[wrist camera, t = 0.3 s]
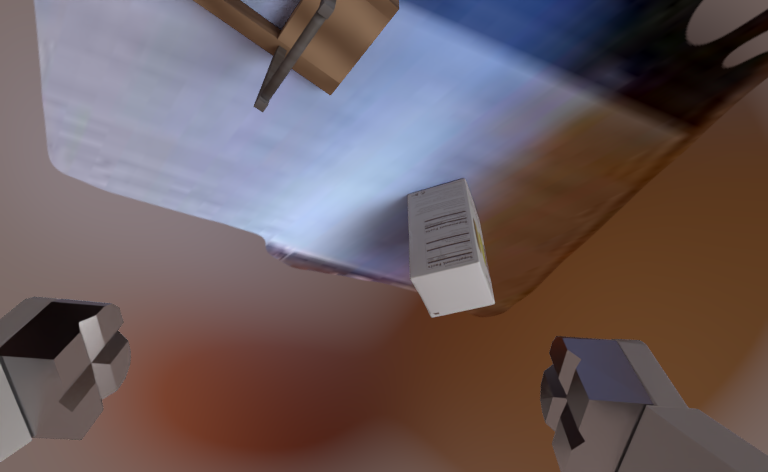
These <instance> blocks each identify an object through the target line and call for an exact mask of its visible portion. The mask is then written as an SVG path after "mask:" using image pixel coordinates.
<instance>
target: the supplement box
mask: <svg viewBox="0 0 768 472" xmlns="http://www.w3.org/2000/svg"><path fill="white" fill-rule="evenodd" d="M407 199H408V228H409V263H410V279H411V281H412V282H413V284H414V286H415V288H416V289H417V291H418V293H419V294H420V296H421V298H422V300H423V301H424V304H425V306H426V307H427V309H428V311H429V314H430V316H431V317H437V316H442V315H447V314H451V313H456V312H460V311H465V310H470V309H475V308H479V307H484V306H488V305H492V304H495V301H494V295H493V290H492V285H491V279H490V274H489V269H488V263H487V258H486V253H485V247H484V242H483V237H482V231H481V226H480V221H479V218H478V215H477V212H476V209H475V205H474V202H473V199H472V197H471V194H470V191H469V188H468V185H467V182H466V180H465V179H460V180H456V181H453V182H449V183H446V184H442V185H439V186H436V187H432V188H429V189H425V190H422V191H418V192H415V193H412V194H408V195H407Z"/></svg>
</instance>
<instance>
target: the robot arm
mask: <svg viewBox="0 0 768 472" xmlns="http://www.w3.org/2000/svg"><path fill="white" fill-rule="evenodd" d="M122 324H123V318H122V315H121V312H120V308H119V307H117V306H116V305H114V304H111V303H100V302H90V301H78V300H69V299H55V298H43V297H32V298H28V299H25V300H23V301H22V302H21V303H20V304H18V305H17V306H16V307H15V308H13V309H12V310H11V311H10V312H9V313H7V314H6V315H5V316H4V317H2V318H1V319H0V462H1V461H3V460H4V459H6V458H7V457H8V456H10V455H11V454H13V453H14V452H16V451H17V450H19V449H20V448H22V447H23V446H25V445H26V444H27V443H29V442H30V441H32V438H51V439H71V440H82V438H83V437H84V436H85V434H86V433H87V432H88V430H89V429H90V427H91V426H92V425H93V423H94V422H95V421H96V419H97V418H98V417H99V415H100V414H101V412H102V411H103V403H102V399H104V398H105V397H107V396H108V395H110V394H112V393H114V392H116V391H117V390H118V388H119V387H120V386H121V384H122V383H123V381H124V380H125V378H126V375H127V372H128V369H129V366H130V358H131V355H130V354H131V351H130V346H129V342H128V340H127V339H126V338H125V337H124V336H123V335H122V334H121V333H120V332H119V331H118V330H119V328H120V327H121V325H122ZM549 354H550V356H551V359H552V362H553V365H551V366H550V367H549V368H548V369H546V370H545V371H544V374H543V378H542V382H541V395H540V396H541V398H540V401H541V407H542V413H543V416H544V419H545V423H546V424H547V425H549V426H550V427H551V428H552V429H553V430H554V431H555V435H554V438H553V442H552V445H553V449H554V452H555V455H556V458H557V461H558V464H559V467H560V470H561V472H768V456H767V455H766V454H764V453H763V452H761V451H760V450H759V449H757V448H755V447H754V446H752V445H751V444H750V443H748V442H747V441H745V440H744V439H742V438H741V437H739V436H737V435H736V434H734V433H733V432H732V431H730V430H729V429H727V428H725V427H724V426H723V425H721V424H720V423H718V422H716V421H715V420H714V419H712V418H710V417H709V416H707V415H706V414H705V413H703V412H701V411H700V410H698V409H692V408H688V407H687V405H686V404H685V402H684V401H683V399H682V398H681V396H680V395H679V393H678V392H677V390H676V389H675V387H674V386H673V384H672V383H671V381H670V380H669V378H668V377H667V375H666V374H665V372H664V371H663V369H662V368H661V366H660V365H659V363H658V362H657V360H656V359H655V358H654V356H653V354H652V353H651V351H650V350H649V348H648V347H647V345H646V344H644V343H643V342H642V341H640V340H622V339H611V340H606V339H592V338H577V337H562V336H556V337H555V339H554V341H553V342H552V345H551V349H550V352H549Z"/></svg>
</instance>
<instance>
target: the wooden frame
mask: <svg viewBox="0 0 768 472" xmlns="http://www.w3.org/2000/svg"><path fill="white" fill-rule="evenodd" d="M193 1H195V2H196V3H198V4H199V5H201V6H202V7H204V8H205V9H206V10H208V11H209V12H211V13H212V14H214V15H215V16H217V17H218V18H219V19H221V20H222V21H224V22H225V23H227V24H228V25H230V26H231V27H232V28H234V29H235V30H237V31H238V32H240V33H241V34H243V35H244V36H245V37H247V38H248V39H250V40H251V41H253V42H254V43H256V44H257V45H258V46H260V47H261V48H263V49H264V50H266V51H267V52H269V53H270V54H271V55H273V58H272V61H271V63H270V66H269V68H268V71H267V73H266V76H265V79H264V81H263V84H262V86H261V89H260V91H259V94H258V96H257V99H256V102H255V104H254V107H255V108H257V109H258V110H260V111H262V112H263V111H264V110H265V108H266V107H267V106H268V103H269V100H270V99H271V97H272V96H273V94H274V93H275V92H276V90H277V89H278V87H279V86H280V84H281V83H282V82H283V80H284V79H285V77H286V76H287V74H288V73H289V72H290V70H291V69H293V70H295V71H296V72H297V73H299V74H300V75H302V76H303V77H305V78H306V79H308V80H309V81H310V82H312V83H313V84H315V85H316V86H318V87H319V88H321V89H322V90H323V91H325V92H326V93H328V94H329V95H331V94H332V93H333V92H334V91H335V89H336V88H337V87H338V86H339V84H340V83H341V82H342V80H343V79H344V78H345V77H346V75H347V74H348V73H349V72H350V70H351V69H352V68H353V67H354V65H355V64H356V63H357V62H358V60H359V59H360V58H361V56H362V55H363V54H364V53H365V51H366V50H367V49H368V48H369V46H370V45H371V44H372V43H373V41H374V40H375V39H376V38H377V36H378V35H379V34H380V32H381V31H382V30H383V29H384V27H385V26H386V25H387V24H388V22H389V21H390V20H391V19H392V17H393V16H394V15H395V14H396V12H397V11H398V10H399V0H300V2H299V3H298V5H297V6H296V8H295V9H294V11H293V13H292V14H291V16H290V17H289V19H288V20H287V22H286V23H285V25H284V27H283V28H282V30H280V29H279V28H278V27H276V26H275V25H274V24H272V23H271V22H269V21H268V20H267V19H265V18H264V17H262V16H261V15H260V14H258V13H257V12H256V11H254V10H253V9H251V8H250V7H249V6H247V5H246V4H245V3H243V2H242V1H240V0H193Z"/></svg>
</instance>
